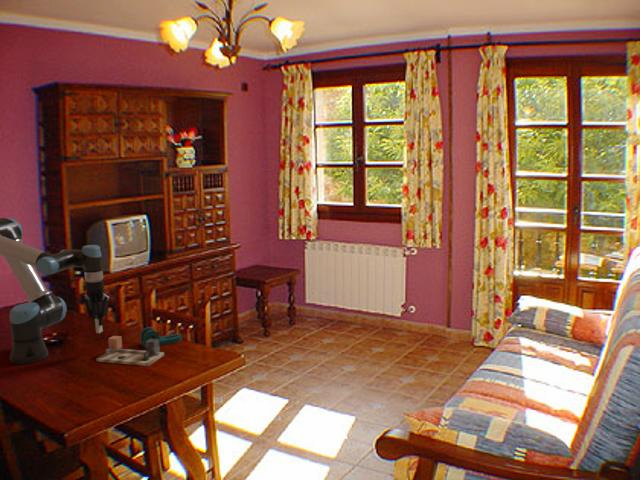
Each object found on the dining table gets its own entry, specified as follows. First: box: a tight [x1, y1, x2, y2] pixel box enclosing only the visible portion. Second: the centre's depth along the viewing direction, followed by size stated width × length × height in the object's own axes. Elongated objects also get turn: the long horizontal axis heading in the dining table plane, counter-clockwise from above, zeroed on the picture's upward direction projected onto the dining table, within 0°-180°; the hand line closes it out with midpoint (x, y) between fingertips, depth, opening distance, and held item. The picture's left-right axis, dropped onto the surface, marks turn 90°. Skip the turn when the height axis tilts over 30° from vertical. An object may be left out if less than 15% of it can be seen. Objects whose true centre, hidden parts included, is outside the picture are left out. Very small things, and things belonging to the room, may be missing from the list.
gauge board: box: [96, 339, 165, 367], centre depth 259 cm, size 25×13×8 cm, turn 75°
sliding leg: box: [104, 335, 123, 356], centre depth 263 cm, size 4×9×6 cm, turn 165°
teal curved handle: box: [140, 326, 183, 349], centre depth 278 cm, size 18×7×8 cm, turn 121°
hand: (99, 332), depth 266 cm, fingers closed
